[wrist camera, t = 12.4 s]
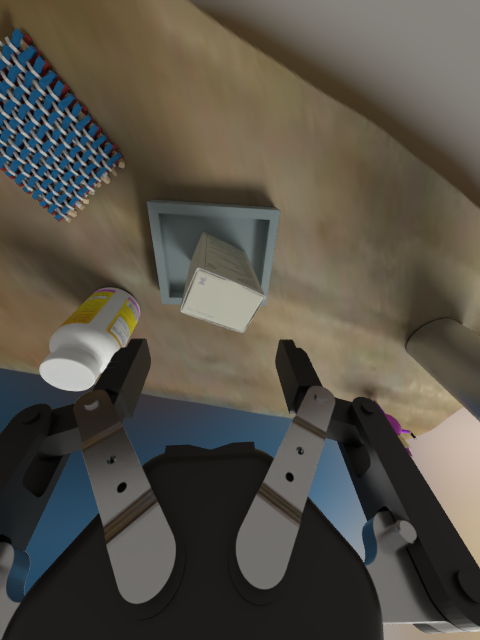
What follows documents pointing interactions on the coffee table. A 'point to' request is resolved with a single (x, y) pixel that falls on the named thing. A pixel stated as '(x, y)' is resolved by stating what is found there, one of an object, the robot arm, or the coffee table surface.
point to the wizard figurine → (399, 430)
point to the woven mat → (48, 133)
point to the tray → (217, 220)
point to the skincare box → (221, 285)
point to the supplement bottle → (90, 339)
